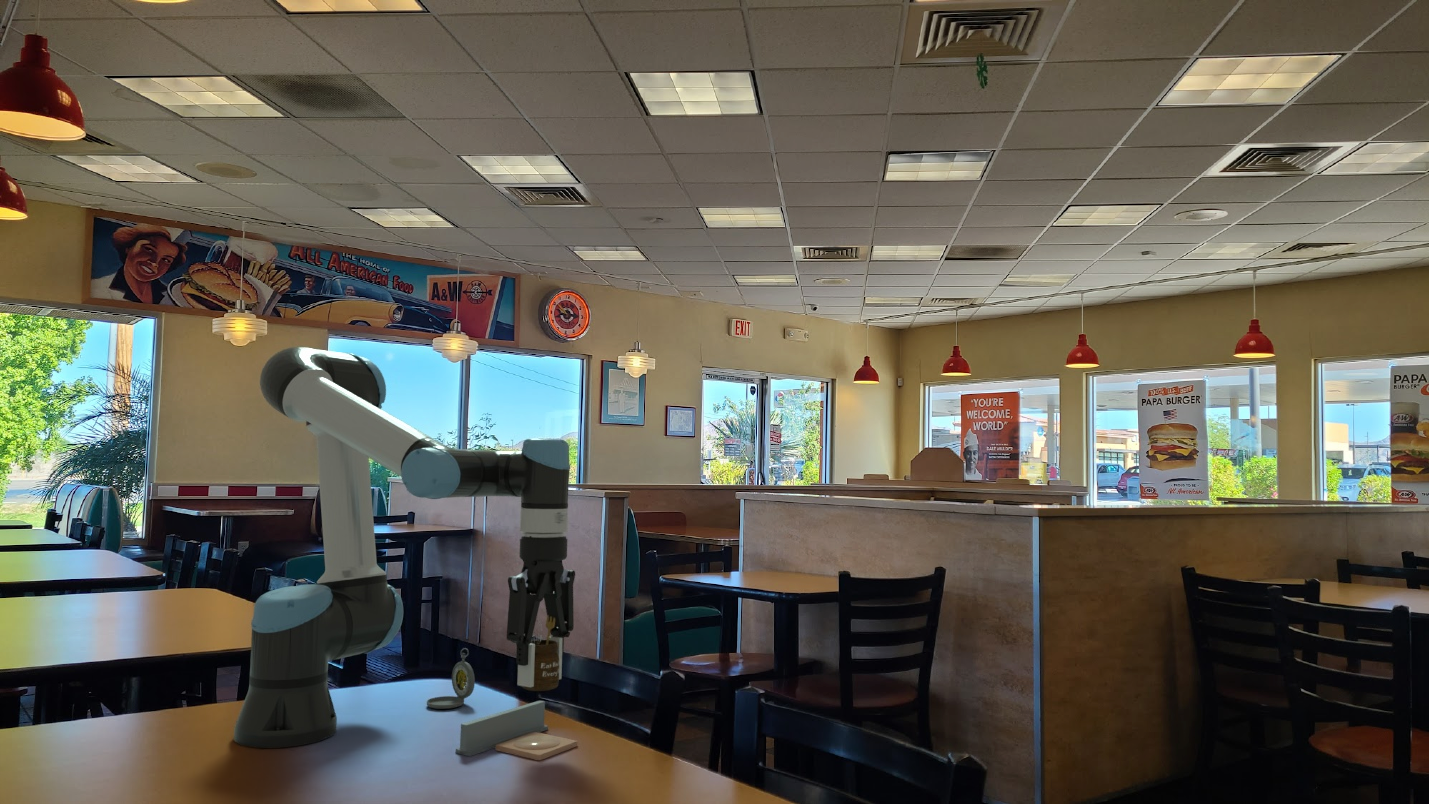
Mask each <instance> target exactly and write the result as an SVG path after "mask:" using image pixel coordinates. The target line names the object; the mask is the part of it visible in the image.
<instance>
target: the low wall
mask: <svg viewBox="0 0 1429 804" xmlns="http://www.w3.org/2000/svg"><path fill="white" fill-rule="evenodd" d="M545 705H546V701H544V700H536V701H534V702H530V703H527V704H523V705H520V706H517V707H513V708H509V709H506V710H503V711H499V712H497V713H493V714H490V715H489V714H488V715H485V716H484V717H480V718H477V719H473V720H470V721H467V722H463V723H461V724H460V739H459V741H460V742H459V747H458V748H455V753H456V754H459V755H463V756H467V757H471V756H474V755H477V754H480V753H483V752H486V751H489V750H492V749H496V745H497V744H500V743H503V742H506V741H509V740H512V739H515V738H518V737H521V736H523V735H526V734H529V733H532V732H538V733H542V732H544V731H548V730H549V725H546V724H545V709H546V708H545V707H546V706H545Z"/></svg>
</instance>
